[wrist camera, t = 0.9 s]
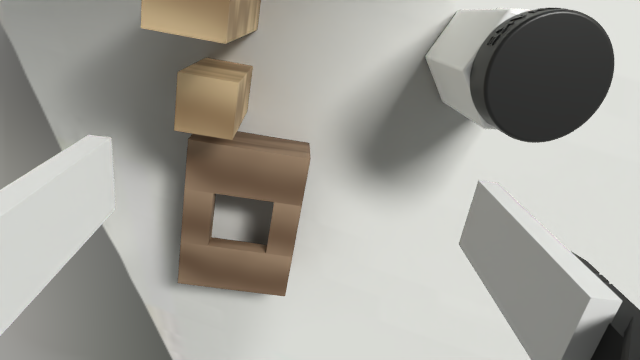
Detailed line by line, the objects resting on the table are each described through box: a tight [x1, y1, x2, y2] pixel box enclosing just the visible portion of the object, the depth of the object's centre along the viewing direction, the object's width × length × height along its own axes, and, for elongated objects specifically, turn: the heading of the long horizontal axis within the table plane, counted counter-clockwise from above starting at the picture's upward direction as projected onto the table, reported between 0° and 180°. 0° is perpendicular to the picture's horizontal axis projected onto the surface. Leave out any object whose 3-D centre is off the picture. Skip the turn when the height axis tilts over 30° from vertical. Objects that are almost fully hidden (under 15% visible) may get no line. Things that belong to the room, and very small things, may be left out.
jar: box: [425, 8, 614, 142], centre depth 31 cm, size 9×8×12 cm
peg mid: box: [174, 58, 253, 140], centre depth 33 cm, size 4×4×9 cm
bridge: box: [178, 131, 310, 296], centre depth 39 cm, size 14×10×4 cm
